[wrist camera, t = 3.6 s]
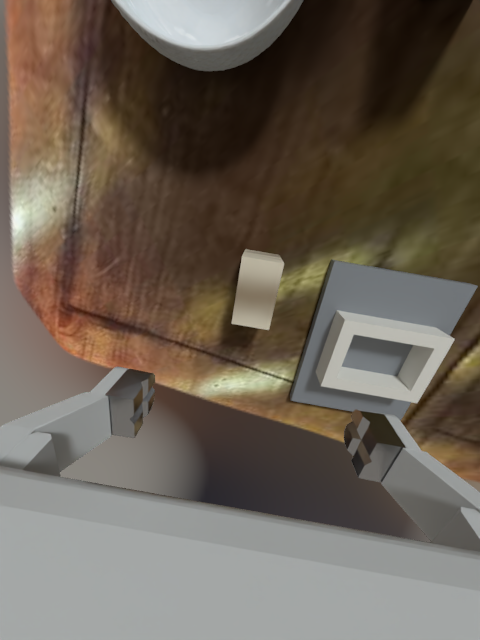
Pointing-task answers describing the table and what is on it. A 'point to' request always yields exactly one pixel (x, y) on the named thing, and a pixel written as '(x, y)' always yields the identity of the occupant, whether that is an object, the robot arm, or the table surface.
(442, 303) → the cradle
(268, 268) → the key block
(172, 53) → the cereal bowl
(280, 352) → the table surface
